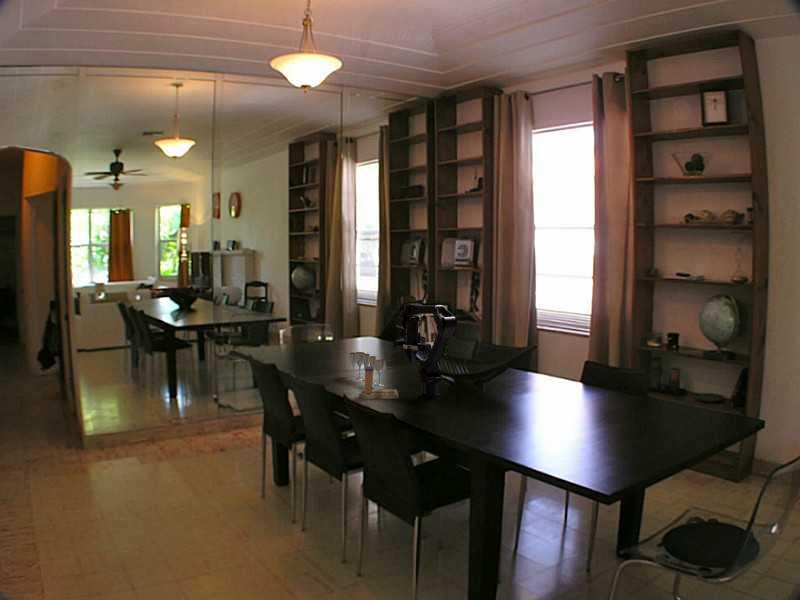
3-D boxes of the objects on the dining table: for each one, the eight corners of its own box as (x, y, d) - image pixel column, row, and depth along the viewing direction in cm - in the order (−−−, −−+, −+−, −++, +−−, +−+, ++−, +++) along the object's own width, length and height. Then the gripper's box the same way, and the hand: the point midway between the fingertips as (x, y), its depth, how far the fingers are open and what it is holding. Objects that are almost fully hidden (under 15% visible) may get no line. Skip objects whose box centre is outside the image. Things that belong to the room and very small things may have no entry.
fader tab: (371, 390, 272) (372, 366, 271) (372, 393, 266) (373, 368, 265) (363, 390, 272) (364, 366, 271) (364, 393, 266) (365, 368, 265)
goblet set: (345, 376, 308) (346, 350, 307) (355, 374, 312) (355, 349, 310) (378, 387, 286) (378, 359, 285) (387, 385, 290) (388, 358, 288)
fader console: (396, 392, 276) (396, 389, 276) (398, 398, 266) (398, 394, 266) (360, 393, 274) (360, 389, 274) (362, 398, 264) (362, 395, 264)
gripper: (438, 330, 282) (437, 363, 284) (406, 326, 294) (406, 358, 295) (424, 333, 274) (423, 367, 275) (392, 328, 285) (391, 361, 287)
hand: (411, 363), depth 283 cm, fingers closed
